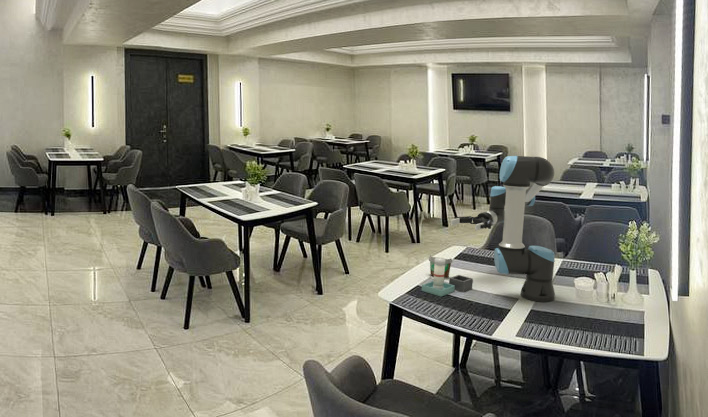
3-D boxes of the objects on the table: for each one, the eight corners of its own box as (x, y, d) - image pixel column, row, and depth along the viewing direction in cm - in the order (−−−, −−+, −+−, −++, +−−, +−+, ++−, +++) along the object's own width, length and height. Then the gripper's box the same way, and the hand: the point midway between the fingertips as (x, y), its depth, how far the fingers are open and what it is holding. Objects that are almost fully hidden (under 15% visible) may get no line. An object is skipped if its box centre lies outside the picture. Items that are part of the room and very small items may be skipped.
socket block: (472, 288, 280) (472, 278, 279) (463, 292, 274) (463, 282, 274) (457, 284, 286) (458, 274, 285) (448, 288, 280) (449, 278, 279)
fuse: (445, 289, 275) (447, 259, 273) (440, 292, 271) (442, 261, 269) (436, 287, 278) (438, 256, 276) (430, 289, 275) (432, 258, 272)
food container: (424, 276, 297) (425, 257, 295) (428, 273, 302) (429, 254, 301) (447, 280, 292) (448, 261, 290) (451, 277, 297) (452, 258, 295)
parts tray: (454, 291, 275) (454, 285, 275) (441, 296, 267) (441, 290, 267) (435, 285, 283) (435, 280, 282) (421, 290, 275) (421, 285, 274)
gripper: (508, 230, 287) (486, 237, 272) (464, 222, 303) (441, 228, 288) (509, 215, 286) (487, 221, 270) (465, 208, 302) (442, 213, 287)
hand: (463, 225), depth 279 cm, fingers open, 13 cm apart
